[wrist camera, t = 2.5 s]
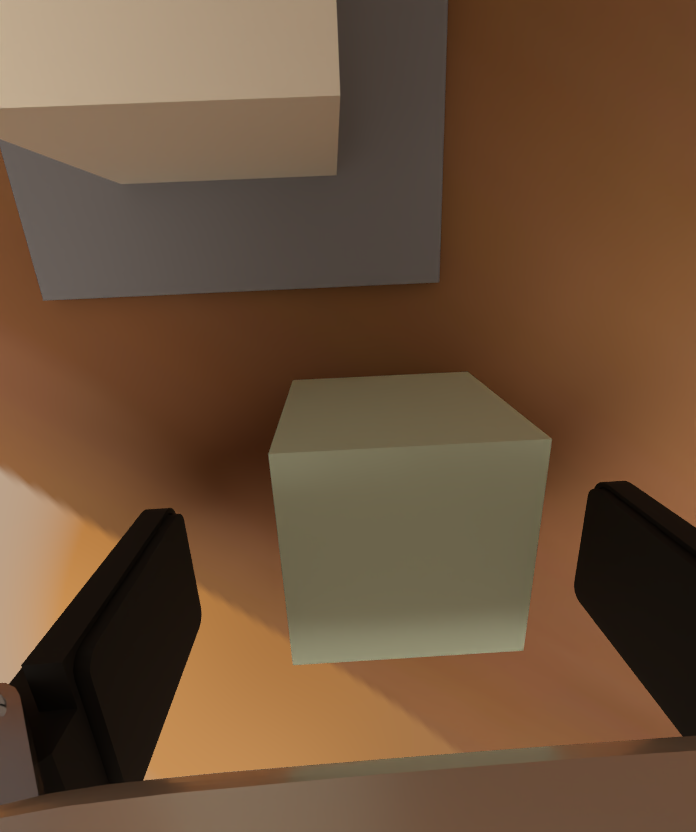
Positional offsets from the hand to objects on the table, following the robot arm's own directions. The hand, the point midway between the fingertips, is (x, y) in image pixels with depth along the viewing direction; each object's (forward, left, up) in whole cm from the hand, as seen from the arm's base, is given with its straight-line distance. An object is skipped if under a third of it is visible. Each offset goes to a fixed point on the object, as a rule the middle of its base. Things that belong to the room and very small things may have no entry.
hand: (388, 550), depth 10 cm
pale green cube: (-1, 0, -4) cm, 4 cm away
